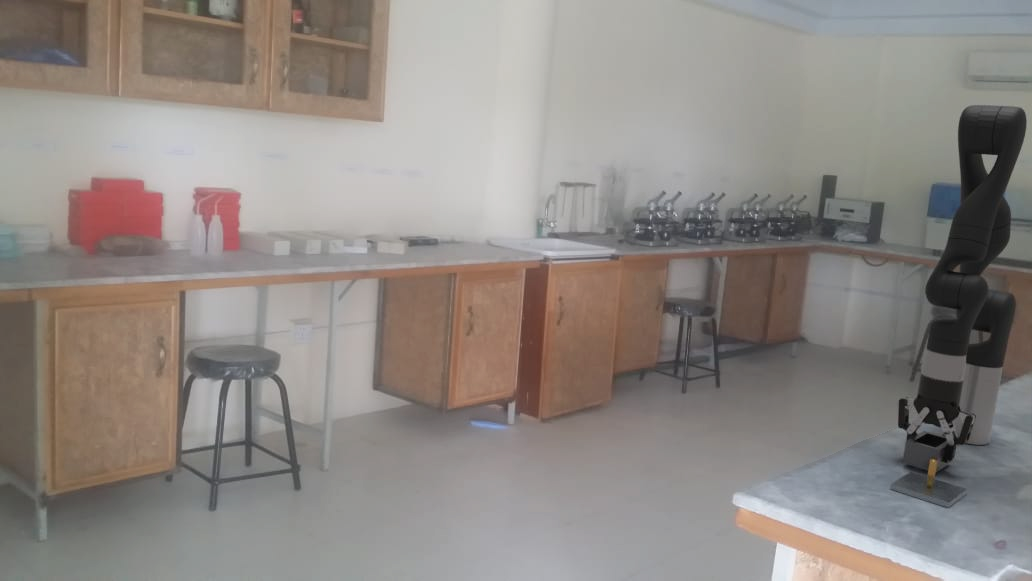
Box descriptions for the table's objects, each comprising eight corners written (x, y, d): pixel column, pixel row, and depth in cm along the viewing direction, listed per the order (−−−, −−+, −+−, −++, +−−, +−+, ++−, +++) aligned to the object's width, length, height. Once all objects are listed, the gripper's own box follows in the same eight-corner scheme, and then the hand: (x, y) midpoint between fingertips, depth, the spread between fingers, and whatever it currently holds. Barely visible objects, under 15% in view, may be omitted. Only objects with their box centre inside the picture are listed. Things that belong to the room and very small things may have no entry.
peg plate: (910, 476, 168) (915, 446, 167) (966, 494, 162) (972, 462, 161) (890, 489, 161) (895, 457, 160) (948, 507, 154) (954, 475, 153)
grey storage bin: (920, 451, 181) (923, 430, 180) (952, 461, 177) (956, 439, 176) (902, 462, 173) (905, 440, 173) (935, 472, 169) (939, 450, 168)
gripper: (988, 380, 170) (973, 463, 173) (911, 363, 179) (898, 442, 182) (976, 386, 164) (961, 472, 167) (897, 368, 174) (884, 450, 177)
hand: (928, 456), depth 175 cm, fingers closed on grey storage bin, 6 cm apart
